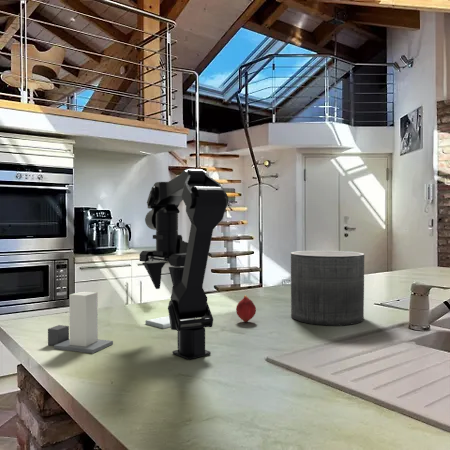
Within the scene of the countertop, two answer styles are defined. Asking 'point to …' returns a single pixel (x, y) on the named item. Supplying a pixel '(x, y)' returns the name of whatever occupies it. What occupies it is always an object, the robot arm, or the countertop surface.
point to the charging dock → (61, 340)
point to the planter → (327, 287)
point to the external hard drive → (161, 322)
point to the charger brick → (83, 318)
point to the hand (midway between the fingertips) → (167, 291)
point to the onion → (246, 309)
